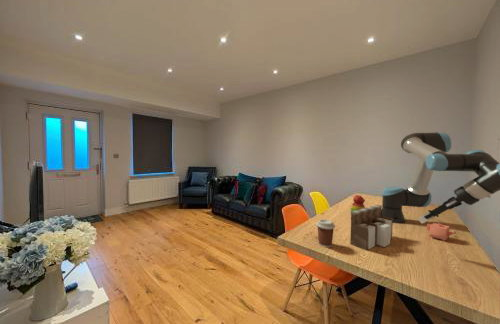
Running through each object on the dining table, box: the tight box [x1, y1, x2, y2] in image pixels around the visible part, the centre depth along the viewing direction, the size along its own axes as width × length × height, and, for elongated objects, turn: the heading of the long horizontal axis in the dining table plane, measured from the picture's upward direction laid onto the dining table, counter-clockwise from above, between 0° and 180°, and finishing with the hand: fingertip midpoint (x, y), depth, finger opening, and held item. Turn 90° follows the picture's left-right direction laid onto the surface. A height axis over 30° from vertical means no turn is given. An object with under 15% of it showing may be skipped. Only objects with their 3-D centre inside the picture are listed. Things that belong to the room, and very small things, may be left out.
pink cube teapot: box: [426, 222, 457, 242], centre depth 113 cm, size 8×12×8 cm, turn 36°
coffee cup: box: [315, 219, 336, 248], centre depth 105 cm, size 9×9×12 cm
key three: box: [360, 223, 376, 250], centre depth 103 cm, size 6×6×10 cm
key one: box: [378, 218, 393, 240], centre depth 113 cm, size 6×6×10 cm
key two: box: [374, 222, 391, 248], centre depth 106 cm, size 6×6×10 cm
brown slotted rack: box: [349, 204, 394, 251], centre depth 109 cm, size 28×8×17 cm, turn 123°
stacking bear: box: [350, 194, 366, 213], centre depth 143 cm, size 11×10×18 cm
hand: (420, 220), depth 99 cm, fingers closed
